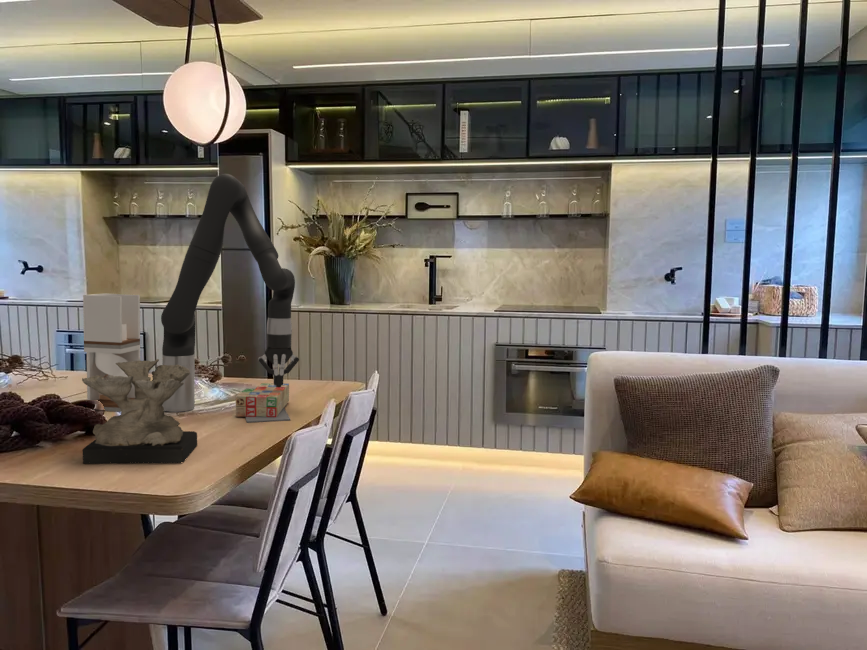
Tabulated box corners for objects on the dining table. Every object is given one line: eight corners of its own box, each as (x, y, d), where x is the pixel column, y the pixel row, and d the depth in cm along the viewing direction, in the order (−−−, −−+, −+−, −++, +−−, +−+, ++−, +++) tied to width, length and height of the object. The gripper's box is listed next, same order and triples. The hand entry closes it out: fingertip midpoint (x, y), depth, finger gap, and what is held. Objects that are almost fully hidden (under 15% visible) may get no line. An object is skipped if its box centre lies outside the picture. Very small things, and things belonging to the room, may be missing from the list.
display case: (85, 409, 180) (83, 294, 177) (106, 401, 191) (104, 293, 188) (121, 411, 180) (119, 296, 176) (140, 403, 190) (139, 295, 187)
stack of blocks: (289, 401, 200) (252, 400, 199) (289, 383, 199) (252, 382, 198) (276, 417, 178) (234, 416, 178) (276, 397, 178) (234, 396, 177)
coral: (65, 464, 133) (63, 370, 131) (104, 438, 153) (103, 356, 151) (181, 464, 136) (181, 372, 134) (205, 438, 156) (205, 358, 154)
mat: (246, 422, 173) (246, 421, 173) (241, 404, 195) (241, 403, 195) (290, 420, 177) (290, 419, 177) (280, 402, 200) (280, 401, 199)
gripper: (298, 330, 191) (297, 383, 193) (256, 330, 186) (255, 385, 188) (302, 333, 184) (301, 388, 186) (258, 333, 179) (257, 389, 181)
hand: (278, 386), depth 187 cm, fingers closed
